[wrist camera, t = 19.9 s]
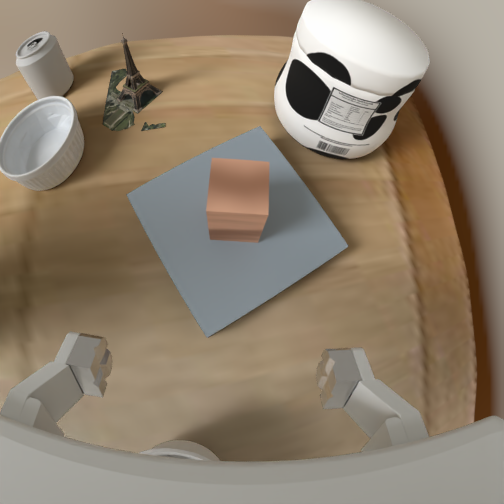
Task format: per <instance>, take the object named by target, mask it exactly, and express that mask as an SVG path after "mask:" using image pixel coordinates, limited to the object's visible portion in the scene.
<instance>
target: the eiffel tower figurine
mask: <svg viewBox="0 0 504 504" xmlns="http://www.w3.org/2000/svg"><path fill="white" fill-rule="evenodd" d="M122 34H123V33H122ZM121 41H122V43H123V47H124V53H125V59H126V66H127V71H126V69H121V70H115V71H112V74H111V79H110V84H109V89H108V94H107V100H106V105H105V111H104V118H103V125H104V126H106V127H108V128H109V129H111V130H112V131H113V130H115V131H120V130H123V129H127V128H129V127H130V126H132V125H135V124H134V114H133V111H134V112H136V113H137V114H138V113H139V112H140V111H141V110H142V109H143V108H145V107H146V106H147V105H148V104H149V103H150V102H151V101H153V100H154V99H155V98H156V97H157V96H158V95H160V94H161V93H162V92H163V91H161V90H159V89H157V88H155V87H154V86H152V85H150V84H149V82H148V80H146V79H144V78H143V77H142V76H141V75H140V73H139V72H140V71H138V70H137V68H136V66H135V64H134V62H133V59H132V56H131V54H130V51H129V48H128V45H127V40H126V39H125V38H124V37H123V39H122V40H121ZM126 76H127V78H126V83H125V84H124V85H123V87H124V88H123V90H122V92H120V91H118V90H117V89H116V86H117V85H118V84H119V82H120V81H121V80H123V79H124V78H125V77H126ZM165 124H166V123H161V124H157V125H154V124H152V125H150V126H148V125H147V123H146V122H145V124H144V126H143V128H142V130H141V131H144V130H149V129H155V128H161V127H165Z"/></svg>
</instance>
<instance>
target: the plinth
mask: <svg viewBox="0 0 504 504" xmlns="http://www.w3.org/2000/svg"><path fill="white" fill-rule="evenodd" d="M212 158H224V159H239V160H253V161H265V162H270V164H269V211H268V217H267V220H266V223H265V225H264V228H263V231H262V233H261V236H260V239H259V241H258V243H254V242H238V241H222V240H210V237H209V229H208V222H207V214H206V207H207V197H208V188H209V178H210V169H211V160H212ZM126 195H127V197H128V199H129V201H130V203H131V205H132V207H133V209H134V211H135V213H136V215H137V217H138V218H139V220H140V222H141V224H142V226H143V228H144V230H145V232H146V234H147V236H148V237H149V239H150V241H151V243H152V245H153V247H154V249H155V250H156V252H157V254H158V256H159V258H160V259H161V261H162V263H163V265H164V267H165V268H166V270H167V272H168V274H169V275H170V277H171V279H172V281H173V282H174V284H175V286H176V288H177V289H178V291H179V293H180V294H181V296H182V298H183V300H184V301H185V303H186V305H187V306H188V308H189V310H190V311H191V313H192V315H193V316H194V318H195V319H196V321H197V323H198V324H199V326H200V328H201V329H202V331H203V332H204V334H205V336H206V337H207V338H208V337H210V336H212V335H213V334H215V333H216V332H218V331H220V330H221V329H223V328H225V327H226V326H228V325H230V324H231V323H233V322H234V321H236V320H238V319H239V318H241V317H242V316H244V315H246V314H247V313H249V312H250V311H252V310H254V309H255V308H257V307H258V306H260V305H262V304H263V303H265V302H266V301H268V300H269V299H271V298H272V297H274V296H276V295H277V294H279V293H280V292H282V291H283V290H285V289H286V288H288V287H289V286H291V285H293V284H294V283H296V282H297V281H299V280H300V279H302V278H303V277H305V276H306V275H308V274H309V273H311V272H312V271H314V270H315V269H317V268H318V267H320V266H321V265H323V264H324V263H326V262H327V261H329V260H330V259H332V258H333V257H335V256H336V255H337V254H339V253H340V252H342V251H343V250H344V249H346V248H347V247H348V245H347V243H346V242H345V240H344V239H343V237H342V236H341V234H340V233H339V231H338V230H337V229H336V227H335V226H334V224H333V223H332V221H331V220H330V218H329V217H328V216H327V214H326V213H325V211H324V210H323V209H322V207H321V206H320V204H319V203H318V202H317V200H316V199H315V197H314V196H313V195H312V193H311V192H310V190H309V189H308V188H307V186H306V185H305V184H304V182H303V181H302V180H301V178H300V177H299V176H298V174H297V173H296V172H295V170H294V169H293V168H292V166H291V165H290V164H289V162H288V161H287V160H286V158H285V157H284V156H283V155H282V153H281V152H280V151H279V149H278V148H277V147H276V146H275V144H274V143H273V142H272V140H271V139H270V138H269V137H268V135H267V134H266V133H265V132H264V130H263V129H262V128H261V127H260V126H259V127H257V128H255V129H252V130H250V131H248V132H246V133H244V134H241V135H239V136H237V137H235V138H233V139H231V140H228V141H226V142H224V143H222V144H220V145H218V146H216V147H214V148H212V149H210V150H208V151H206V152H204V153H202V154H200V155H198V156H196V157H194V158H192V159H190V160H188V161H186V162H184V163H182V164H180V165H178V166H176V167H175V168H173V169H171V170H169V171H167V172H165V173H163V174H162V175H160V176H158V177H156V178H154V179H153V180H151V181H149V182H147V183H145V184H144V185H142V186H140V187H138V188H137V189H135V190H133V191H132V192H130V193H128V194H126Z"/></svg>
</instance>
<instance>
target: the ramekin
mask: <svg viewBox="0 0 504 504" xmlns="http://www.w3.org/2000/svg"><path fill="white" fill-rule="evenodd" d="M83 149H84V136H83V131H82V129H81V126H80V123H79V121H78V116H77V112H76V109H75V108H74V106H73V105H72V103H71V102H70V101H69V100H68V99H66V98H64V97H61V96H49V97H45V98H42V99H39V100H37V101H35V102H33V103H31V104H30V105H28V106H27V107H25V108H24V109H23V110H22V111H21V112H19V113H18V114H17V115H16V116H15V117H14V119H13V120H12V121H11V122H10V123H9V125H8V126H7V128H6V129H5V131H4V133H3V135H2V137H1V139H0V170H1V172H2V173H3V174H4V175H5V176H6V177H8V178H9V179H11V180H14V181H17V182H18V183H20V184H21V185H23V186H25V187H27V188H29V189H31V190H36V191H42V190H47V189H51V188H53V187H55V186H57V185H59V184H60V183H62V182H63V181H64V180H66V179H67V178H68V177H69V176H70V175H71V173H72V172H73V171H74V170H75V168H76V167H77V165H78V163H79V161H80V159H81V157H82V154H83Z"/></svg>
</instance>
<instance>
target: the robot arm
mask: <svg viewBox="0 0 504 504" xmlns="http://www.w3.org/2000/svg"><path fill="white" fill-rule="evenodd" d="M107 345H108V343H107V340H106V338H105V337H100V336H94V335H88V334H83V333H77V332H71V331H70V332H69V333H68V334H67V335H66V337H65V339H64V341H63V343H62V346H61V348H60V350H59V352H58V354H57V356H56V358H55V360H54V362H52V361H51V362H49V363H48V364H46V365H45V366H43V367H42V368H40V369H39V370H38V371H36V372H35V373H33V374H32V375H30V376H29V377H28V378H26V379H25V380H23V381H22V382H21V383H19V384H18V385H16V386H15V387H13V388H12V389H11V390H10V392H9V394H8V396H7V398H6V400H5V403H4V405H3V407H2V410H1V412H0V504H504V420H503V419H502V418H499V417H498V416H490V417H487V418H484V419H482V420H479V421H477V422H474V423H471V424H468V425H466V426H463V427H460V428H457V429H454V430H451V431H448V432H444V433H441V434H438V435H434V436H431V437H429V435H428V433H427V430H426V427H425V425H424V422H423V420H422V417H421V415H420V412H419V411H418V410H417V409H415V408H414V407H413V406H412V405H410V404H409V403H408V402H407V401H405V400H404V399H403V398H402V397H400V396H399V395H398V394H397V393H395V392H394V391H393V390H392V389H390V388H389V387H388V386H387V385H385V384H384V383H383V382H382V381H380V380H379V379H375V377H374V374H373V372H372V369H371V367H370V364H369V361H368V359H367V356H366V354H365V351H364V349H363V348H362V347H361V348H338V349H325V350H324V351H323V353H322V359H323V360H322V361H321V362H320V363H319V364H318V367H317V372H316V379H317V385H318V387H319V388H321V389H322V391H321V394H320V398H321V403H322V407H323V409H334V408H343V409H344V410H345V411H346V412H347V414H348V415H349V416H350V417H351V418H352V419H353V420H354V421H355V422H356V423H357V425H358V426H359V427H360V428H361V429H362V430H363V431H364V432H365V433H366V434H367V435H368V437H369V438H370V440H369V441H368V442H367V443H366V445H365V446H364V447H363V448H362V449H361V451H362V452H359V453H352V454H346V455H338V456H331V457H322V458H312V459H300V460H285V461H256V462H237V461H208V460H193V459H181V458H171V457H163V456H155V455H148V454H141V453H135V452H129V451H123V450H118V449H113V448H108V447H103V446H98V445H94V444H90V443H86V442H82V441H78V440H74V439H70V438H66V437H64V433H63V431H62V430H61V429H60V427H59V426H58V425H57V424H56V422H57V421H58V420H59V419H60V418H61V417H62V416H63V415H64V414H65V413H66V412H67V411H68V410H69V409H70V408H71V407H72V406H73V405H74V404H75V403H76V402H77V401H78V400H79V399H80V398H82V397H83V396H84V395H83V394H85V395H91V396H97V397H103V396H104V393H105V389H106V386H107V382H106V380H105V378H106V377H108V376H109V375H110V373H111V369H112V355H111V352H110V351H109V350H108V349H107Z"/></svg>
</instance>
